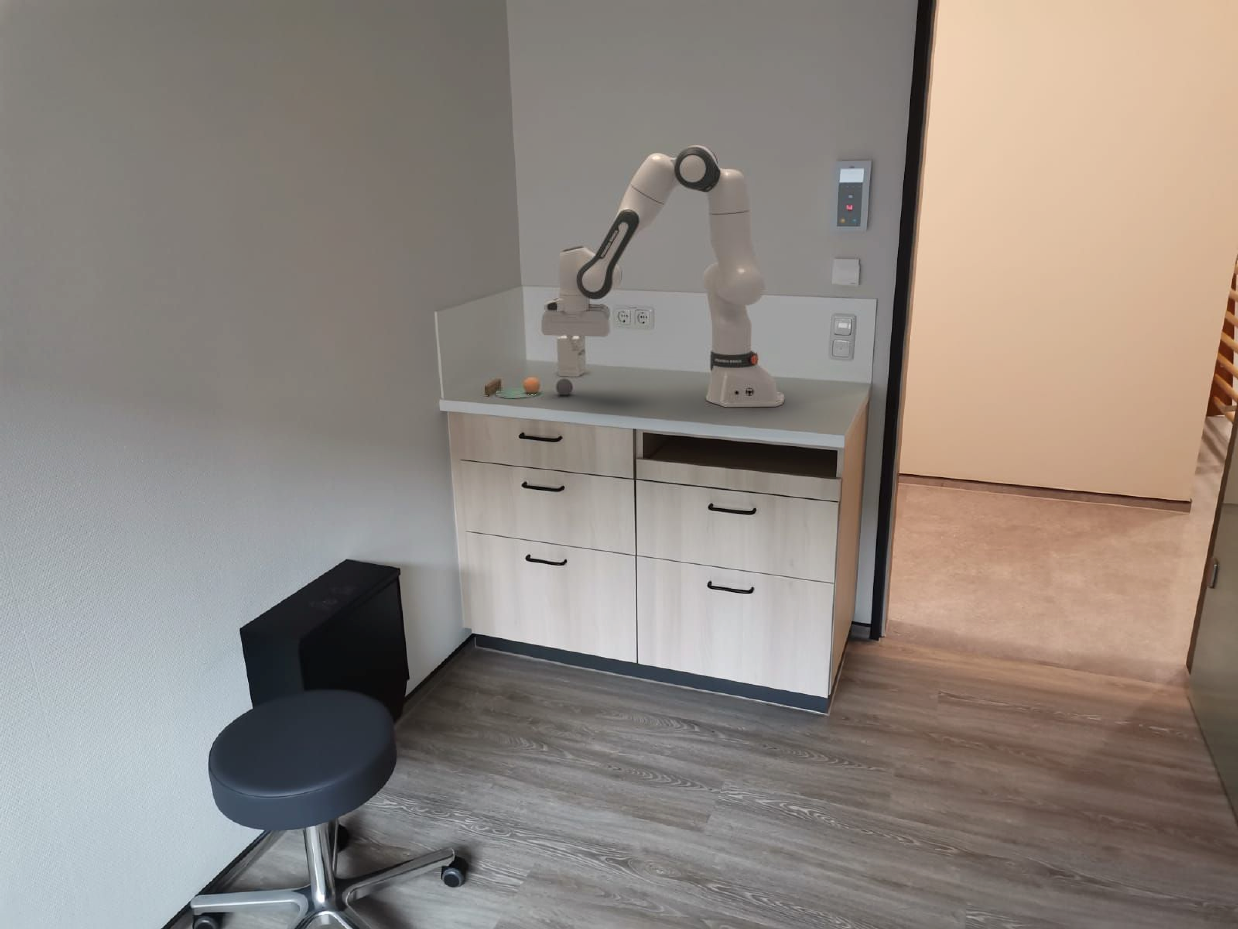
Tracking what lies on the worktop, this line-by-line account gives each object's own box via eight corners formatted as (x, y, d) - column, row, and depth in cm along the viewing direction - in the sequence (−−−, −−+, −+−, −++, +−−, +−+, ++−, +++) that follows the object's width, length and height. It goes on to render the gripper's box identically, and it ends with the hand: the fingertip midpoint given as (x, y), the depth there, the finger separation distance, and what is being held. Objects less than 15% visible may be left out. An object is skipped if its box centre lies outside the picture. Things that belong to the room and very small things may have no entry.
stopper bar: (501, 388, 285) (500, 378, 284) (489, 396, 276) (489, 386, 275) (496, 388, 286) (496, 378, 285) (485, 396, 276) (484, 386, 275)
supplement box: (578, 377, 297) (577, 338, 293) (557, 376, 300) (555, 337, 296) (586, 372, 304) (585, 334, 300) (566, 371, 306) (564, 333, 302)
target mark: (546, 388, 284) (546, 387, 284) (532, 399, 271) (532, 399, 271) (504, 386, 287) (504, 386, 287) (488, 397, 274) (488, 397, 274)
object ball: (535, 372, 278) (523, 381, 280) (530, 376, 274) (518, 385, 275) (545, 385, 279) (533, 394, 281) (540, 389, 274) (527, 398, 276)
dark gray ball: (556, 378, 277) (560, 393, 278) (552, 382, 272) (556, 398, 274) (572, 375, 276) (575, 391, 277) (568, 379, 271) (572, 395, 272)
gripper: (612, 302, 267) (613, 349, 271) (545, 301, 271) (547, 347, 276) (606, 305, 261) (608, 353, 265) (538, 304, 265) (540, 351, 270)
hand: (576, 350), depth 270 cm, fingers closed
